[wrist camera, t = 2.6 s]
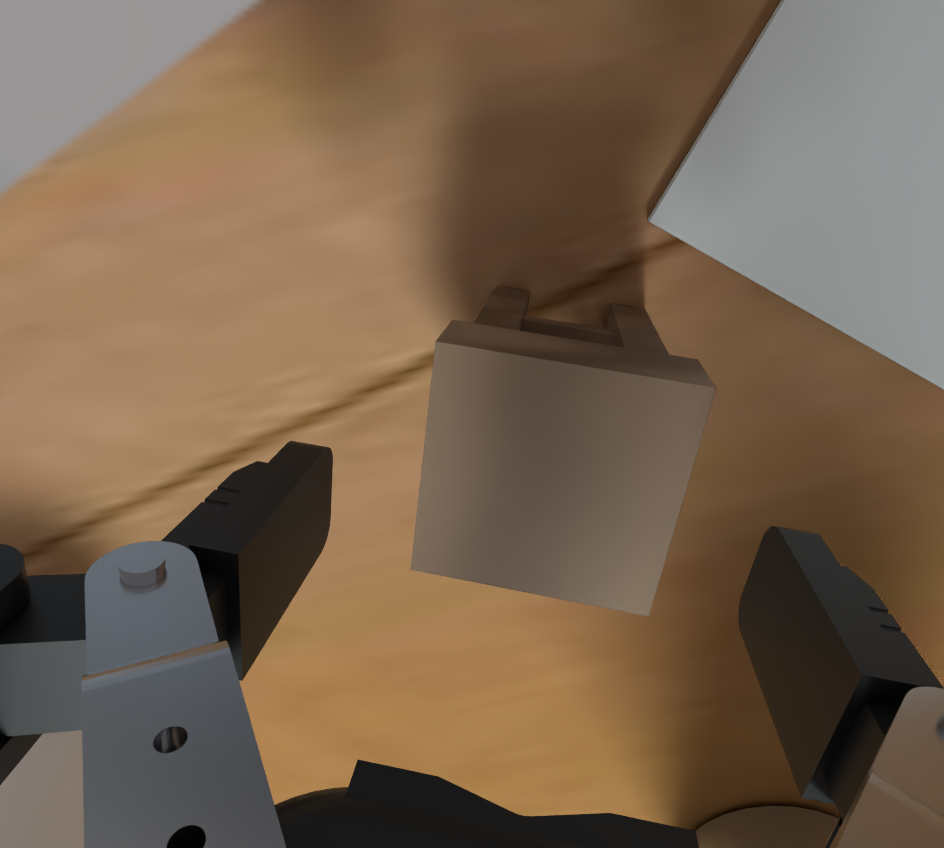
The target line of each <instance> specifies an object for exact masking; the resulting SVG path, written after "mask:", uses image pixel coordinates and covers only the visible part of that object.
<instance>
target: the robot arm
mask: <svg viewBox="0 0 944 848" xmlns="http://www.w3.org/2000/svg"><path fill="white" fill-rule="evenodd" d="M332 466H333V456H332V451H331V449H330V448H329V447H324V446H318V445H312V444H306V443H301V442H295V441H290V442H288V443H287V444H286V445H285V446H284V447H283V448H282V449H281V450H280V451H279V452H278V453H277V454H276V455H275V456H274V457H273V458H272V459H271V460H270V461H269V462H268V463H265V462H259V461H257V462H255V463H252V464H250V465H248V466H246V467H243V468H241V469H239V470H237V471H235V472H233V473H232V474H231V475H230V476H229V477H228V478H227V479H226V480H225V481H223V482H222V483H221V484H220V485H219V486H218V489H217V490H214V491H213V492H212V493H211V494H210V495H209V496H208V497H207V498H206V499H205V502H204V503H203V502H201V503H200V504H199V505H198V506H197V507H196V508H195V509H194V510H193V511H192V512H191V513H190V514H189V515H188V516H187V517H186V518H185V519H184V520H183V521H181V522H180V523H179V524H178V525H177V526H176V527H175V528H174V529H173V530H172V531H171V532H170V533H169V534H168V535H167V536H166V537H165V538H164V539H163V540H161V541H147V542H139V543H134V544H130V545H126V546H123V547H120V548H118V549H115V550H113V551H111V552H109V553H107V554H105V555H104V556H102V557H101V558H99V559H98V560H97V561H96V562H94V563H93V564H92V565H91V567H90V568H89V569H88V571H87V573H86V574H73V575H39V576H27V573H26V568H25V563H24V558H23V556H22V554H21V553H20V552H19V551H18V550H17V549H15V548H13V547H11V546H8V545H4V544H0V785H1V784H2V783H3V782H4V780H5V779H6V778H7V777H8V775H9V774H10V773H11V772H12V771H13V769H14V768H15V767H16V766H17V765H18V763H19V762H20V761H21V760H22V758H23V757H24V756H25V755H26V754H27V752H28V751H29V750H30V749H31V748H32V746H33V745H34V744H35V743H36V741H37V740H38V739H39V738H40V737H41V735H42V734H44V733H56V732H68V731H80V730H82V749H83V806H84V848H944V688H943V687H942V685H941V684H940V682H939V681H938V680H937V678H936V677H935V675H934V674H933V673H932V671H931V670H930V668H929V667H928V666H927V664H926V663H925V661H924V660H923V658H922V657H921V656H920V654H919V653H918V651H917V650H916V649H915V647H914V646H913V644H912V643H911V642H910V640H909V639H908V637H907V636H906V635H905V633H901V628H900V626H899V625H898V623H897V622H896V621H895V619H894V618H893V616H892V615H891V614H888V609H887V608H886V606H885V605H884V604H883V602H882V601H881V599H880V598H879V597H878V595H877V594H876V592H875V591H874V590H873V588H872V587H870V586H869V585H868V584H867V583H866V582H864V581H863V580H862V579H861V578H859V577H858V576H857V575H856V574H855V573H853V572H852V571H851V570H850V569H848V568H847V567H843V566H840V564H839V563H838V561H837V560H836V559H835V557H834V556H833V554H832V553H831V551H830V550H829V548H828V547H827V545H826V544H825V542H824V541H823V539H822V538H821V537H820V536H819V535H818V534H815V533H810V532H804V531H799V530H793V529H787V528H781V527H776V526H772V527H770V528H769V529H768V530H767V531H766V532H765V534H764V536H763V539H762V541H761V544H760V547H759V549H758V552H757V555H756V557H755V560H754V563H753V566H752V568H751V571H750V574H749V576H748V579H747V582H746V585H745V587H744V590H743V593H742V596H741V599H740V604H739V616H738V617H739V628H740V632H741V635H742V637H743V640H744V643H745V646H746V648H747V651H748V654H749V656H750V659H751V662H752V665H753V667H754V670H755V673H756V675H757V678H758V681H759V684H760V686H761V689H762V692H763V694H764V697H765V700H766V703H767V705H768V708H769V711H770V713H771V716H772V719H773V722H774V724H775V727H776V730H777V732H778V735H779V738H780V741H781V743H782V746H783V749H784V751H785V754H786V757H787V760H788V762H789V765H790V768H791V771H792V773H793V776H794V779H795V781H796V784H797V787H798V790H799V792H800V795H801V798H805V799H810V800H815V801H820V802H825V803H829V804H834V805H836V806H837V809H838V811H839V813H840V818H837V817H834V816H831V815H828V814H825V813H822V812H819V811H816V810H810V809H804V808H798V807H791V806H763V807H754V808H746V809H742V810H738V811H735V812H731V813H727V814H724V815H722V816H720V817H718V818H715V819H713V820H711V821H709V822H707V823H705V824H704V825H703V826H701V827H700V828H698V829H697V830H696V831H692V830H688V829H683V828H678V827H674V826H669V825H664V824H659V823H655V822H650V821H645V820H640V819H636V818H631V817H626V816H622V815H617V814H612V813H601V814H577V815H554V816H522V815H518V814H516V813H513V812H511V811H509V810H507V809H505V808H503V807H500V806H498V805H496V804H494V803H492V802H490V801H488V800H486V799H484V798H482V797H480V796H478V795H476V794H473V793H471V792H469V791H467V790H465V789H463V788H461V787H459V786H457V785H455V784H453V783H451V782H448V781H446V780H444V779H442V778H440V777H438V776H433V775H428V774H423V773H419V772H414V771H409V770H404V769H400V768H395V767H390V766H386V765H381V764H376V763H371V762H367V761H362V760H358V761H357V764H356V767H355V770H354V773H353V775H352V778H351V781H350V784H349V787H342V788H331V789H325V790H319V791H314V792H310V793H307V794H303V795H300V796H296V797H293V798H290V799H288V800H286V801H283V802H281V803H278V804H276V805H274V802H273V799H272V795H271V792H270V788H269V785H268V781H267V778H266V774H265V771H264V767H263V764H262V760H261V757H260V753H259V750H258V746H257V742H256V739H255V735H254V732H253V728H252V725H251V721H250V718H249V714H248V711H247V707H246V704H245V700H244V697H243V693H242V690H241V686H240V683H239V680H241V681H242V680H243V679H244V677H245V676H246V674H247V672H248V671H249V669H250V667H251V666H252V664H253V663H254V661H255V659H256V658H257V656H258V654H259V653H260V651H261V650H262V648H263V646H264V645H265V643H266V641H267V640H268V638H269V637H270V635H271V633H272V632H273V630H274V628H275V627H276V625H277V624H278V622H279V620H280V619H281V617H282V615H283V614H284V612H285V611H286V609H287V607H288V606H289V604H290V602H291V601H292V599H293V598H294V596H295V594H296V593H297V591H298V589H299V588H300V586H301V585H302V583H303V581H304V580H305V578H306V576H307V575H308V573H309V572H310V570H311V568H312V567H313V565H314V563H315V562H316V560H317V559H318V557H319V555H320V554H321V552H322V550H323V548H324V545H325V543H326V540H327V536H328V532H329V527H330V517H331V492H332Z"/></svg>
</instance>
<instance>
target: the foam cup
mask: <svg viewBox="0 0 944 848" xmlns="http://www.w3.org/2000/svg"><path fill="white" fill-rule="evenodd" d="M0 848H84V806H83V749H82V730H80V731H68V732H56V733H44V734H42V735H41V737H40V738H39V739H38V740H37V741H36V743H35V744H34V745H33V746H32V748H31V749H30V750H29V751H28V752H27V754H26V755H25V756H24V757H23V758H22V760H21V761H20V762H19V763H18V765H17V766H16V767H15V768H14V769H13V771H12V772H11V773H10V774H9V775H8V777H7V778H6V779H5V780H4V782H3V783H2V784H1V785H0Z"/></svg>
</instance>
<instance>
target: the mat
mask: <svg viewBox="0 0 944 848" xmlns="http://www.w3.org/2000/svg"><path fill="white" fill-rule="evenodd" d="M647 221H649V222H651V223H652V224H654V225H656V226H658V227H659V228H661V229H663V230H665V231H666V232H668V233H670V234H672V235H673V236H675V237H677V238H679V239H680V240H682V241H684V242H686V243H687V244H689V245H691V246H693V247H694V248H696V249H698V250H700V251H701V252H703V253H705V254H707V255H708V256H710V257H712V258H714V259H716V260H717V261H719V262H721V263H723V264H724V265H726V266H728V267H730V268H731V269H733V270H735V271H737V272H738V273H740V274H742V275H744V276H745V277H747V278H749V279H751V280H752V281H754V282H756V283H758V284H759V285H761V286H763V287H765V288H766V289H768V290H770V291H772V292H773V293H775V294H777V295H779V296H780V297H782V298H784V299H786V300H787V301H789V302H791V303H793V304H795V305H796V306H798V307H800V308H802V309H803V310H805V311H807V312H809V313H810V314H812V315H814V316H816V317H817V318H819V319H821V320H823V321H824V322H826V323H828V324H830V325H831V326H833V327H835V328H837V329H838V330H840V331H842V332H844V333H845V334H847V335H849V336H851V337H852V338H854V339H856V340H858V341H859V342H861V343H863V344H865V345H866V346H868V347H870V348H872V349H874V350H875V351H877V352H879V353H881V354H882V355H884V356H886V357H888V358H889V359H891V360H893V361H895V362H896V363H898V364H900V365H902V366H903V367H905V368H907V369H909V370H910V371H912V372H914V373H916V374H917V375H919V376H921V377H923V378H924V379H926V380H928V381H930V382H931V383H933V384H935V385H937V386H938V387H940V388H942V389H944V0H781V1H780V3H779V4H778V6H777V8H776V9H775V11H774V13H773V14H772V16H771V18H770V19H769V21H768V23H767V24H766V26H765V27H764V29H763V31H762V32H761V34H760V36H759V37H758V39H757V41H756V42H755V44H754V45H753V47H752V49H751V50H750V52H749V54H748V55H747V57H746V59H745V60H744V62H743V64H742V65H741V67H740V68H739V70H738V72H737V73H736V75H735V77H734V78H733V80H732V82H731V83H730V85H729V86H728V88H727V90H726V91H725V93H724V95H723V96H722V98H721V100H720V101H719V103H718V104H717V106H716V108H715V109H714V111H713V113H712V114H711V116H710V118H709V119H708V121H707V123H706V124H705V126H704V127H703V129H702V131H701V132H700V134H699V136H698V137H697V139H696V141H695V142H694V144H693V145H692V147H691V149H690V150H689V152H688V154H687V155H686V157H685V159H684V160H683V162H682V164H681V165H680V167H679V168H678V170H677V172H676V173H675V175H674V177H673V178H672V180H671V182H670V183H669V185H668V186H667V188H666V190H665V191H664V193H663V195H662V196H661V198H660V200H659V201H658V203H657V205H656V206H655V208H654V209H653V211H652V213H651V214H650V216H649V218H648V219H647Z"/></svg>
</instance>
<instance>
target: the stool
mask: <svg viewBox="0 0 944 848" xmlns="http://www.w3.org/2000/svg"><path fill="white" fill-rule="evenodd" d="M529 295H530V291H528V290H522V289H516V288H509V287H503V286H497V287H496V289H495V291H494V292H493V294H492V295H491V297H490V299H489V300H488V302H487V303H486V305H485V307H484V308H483V310H482V311H481V313H480V315H479V316H478V318H477V319H476V321H475V323H469V322H463V321H457V320H452V321H451V323H450V324H449V325H448V326H447V328H446V329H445V330H444V331H443V333H442V334H441V335H440V337H439V338H438V339H437V340H436V343H435V352H434V361H433V370H432V379H431V389H430V398H429V407H428V416H427V425H426V434H425V444H424V453H423V462H422V471H421V480H420V489H419V498H418V508H417V517H416V526H415V535H414V544H413V553H412V562H411V570H415V571H420V572H425V573H431V574H436V575H441V576H446V577H451V578H456V579H461V580H466V581H471V582H476V583H481V584H486V585H491V586H496V587H501V588H507V589H512V590H517V591H522V592H527V593H532V594H537V595H542V596H547V597H552V598H557V599H562V600H567V601H572V602H577V603H583V604H588V605H593V606H598V607H603V608H608V609H613V610H618V611H623V612H628V613H633V614H638V615H643V616H648V617H649V614H650V610H651V607H652V604H653V600H654V597H655V593H656V590H657V587H658V583H659V580H660V577H661V573H662V570H663V566H664V563H665V560H666V556H667V553H668V550H669V546H670V543H671V540H672V536H673V533H674V529H675V526H676V523H677V519H678V516H679V513H680V509H681V506H682V502H683V499H684V496H685V492H686V489H687V486H688V482H689V479H690V475H691V472H692V469H693V465H694V462H695V459H696V455H697V452H698V449H699V445H700V442H701V438H702V435H703V432H704V428H705V425H706V422H707V418H708V415H709V411H710V408H711V405H712V401H713V398H714V395H715V391H716V387H715V385H714V384H713V382H712V381H711V379H710V378H709V376H708V375H707V373H706V371H705V370H704V368H703V367H702V365H701V364H700V362H699V361H698V360H697V359H691V358H685V357H679V356H672V355H669V354H668V352H667V350H666V348H665V346H664V344H663V342H662V340H661V339H660V337H659V335H658V333H657V331H656V329H655V327H654V325H653V323H652V321H651V319H650V318H649V316H648V314H647V312H646V310H645V309H643V308H637V307H630V306H624V305H618V304H611V307H610V312H609V317H608V321H607V326H606V329H605V328H598V327H592V326H586V325H580V324H574V323H567V322H561V321H555V320H549V319H542V318H536V317H530V316H526V313H527V307H528V301H529Z"/></svg>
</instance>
